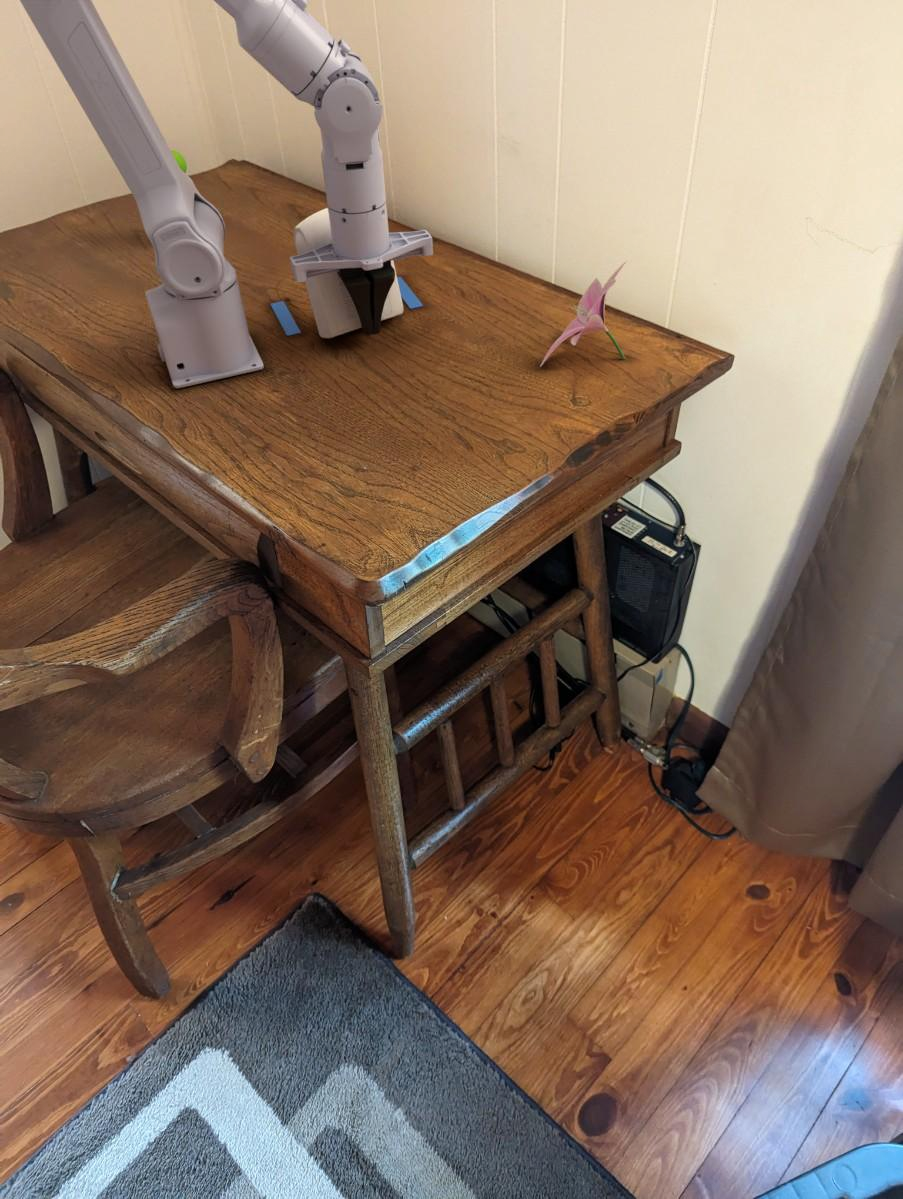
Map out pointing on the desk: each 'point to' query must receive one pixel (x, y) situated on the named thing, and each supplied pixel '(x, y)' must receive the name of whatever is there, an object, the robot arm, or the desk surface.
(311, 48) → the robot arm
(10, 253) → the desk surface
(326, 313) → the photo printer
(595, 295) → the lily
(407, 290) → the tape marks
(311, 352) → the desk surface
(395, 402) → the desk surface
